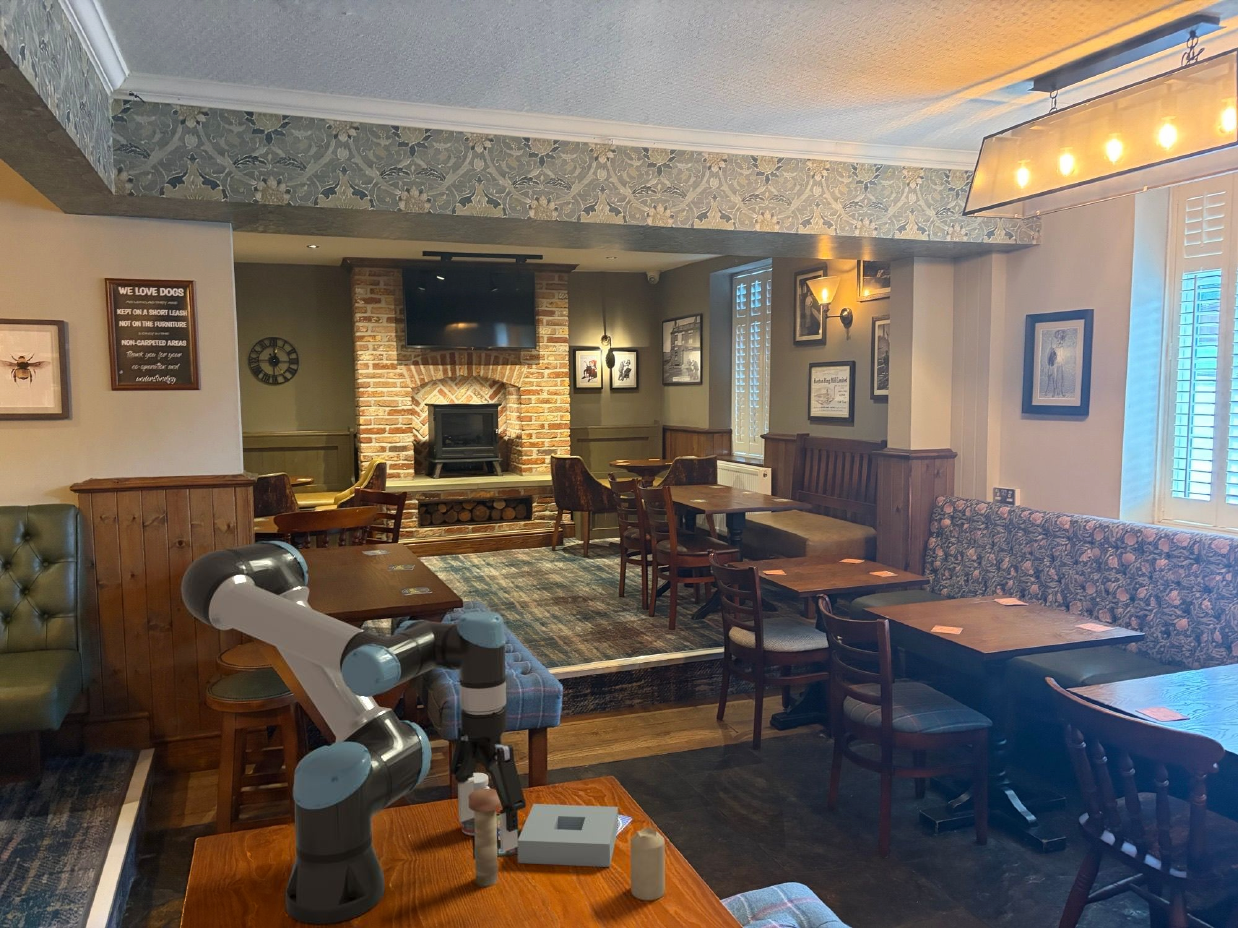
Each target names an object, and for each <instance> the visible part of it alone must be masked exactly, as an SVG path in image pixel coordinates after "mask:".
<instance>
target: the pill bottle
mask: <svg viewBox="0 0 1238 928" xmlns="http://www.w3.org/2000/svg"><path fill="white" fill-rule="evenodd" d="M473 774H474V775H473V776H474V777H472V778H469V779H468V780H470V779H473V780H474V791H476V790H480V789H491V788H490V786H488V785H489V776H488V775H487V774H486V773H483V772H473ZM460 825H461V826H460V827H461V831H462V832H463V834H465V835H467V836H473V837H475V821H474V818H471V819H469V820H466V821H463V822H460Z"/></svg>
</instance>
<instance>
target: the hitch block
mask: <svg viewBox="0 0 1238 928" xmlns="http://www.w3.org/2000/svg"><path fill="white" fill-rule="evenodd" d="M618 829H619V807H618V806H601V805H599V806H597V805H595V806H594V805H576V804H575V805H573V804H570V805H569V804H549V803H548V804H546V803H542V804H541V803H533V804H532V807H531V809H530V811H529V814H528V816H527V818H526V821H525V823H524V825H523V827H522V829H521V832H520V833H519V838H518V855H517V864H535V865H537V864H538V865H555V866H556V865H557V866H558V865H559V866H560V865H561V866H577V867H579V866H580V867H581V866H582V867H599V868H601V867H604V868H605V867H606V868H610V867H611V863H612V859H613V858H612V857H613V854H614V849H615V844H616V839H617V835H618Z"/></svg>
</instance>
